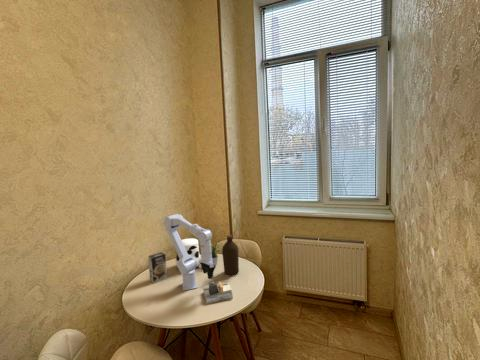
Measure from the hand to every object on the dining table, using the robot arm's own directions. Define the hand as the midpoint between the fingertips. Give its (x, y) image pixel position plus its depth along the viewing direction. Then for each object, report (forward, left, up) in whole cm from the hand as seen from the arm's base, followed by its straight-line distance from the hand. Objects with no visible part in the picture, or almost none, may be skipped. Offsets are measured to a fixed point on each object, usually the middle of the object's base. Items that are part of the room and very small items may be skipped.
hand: (207, 275), depth 142 cm
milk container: (-40, -8, -10) cm, 42 cm away
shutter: (+5, +8, -7) cm, 12 cm away
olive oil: (-19, +18, -10) cm, 28 cm away
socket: (+5, +4, -10) cm, 12 cm away
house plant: (-35, +10, -10) cm, 38 cm away
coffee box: (-28, -28, -10) cm, 41 cm away
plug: (+5, +2, -10) cm, 11 cm away
